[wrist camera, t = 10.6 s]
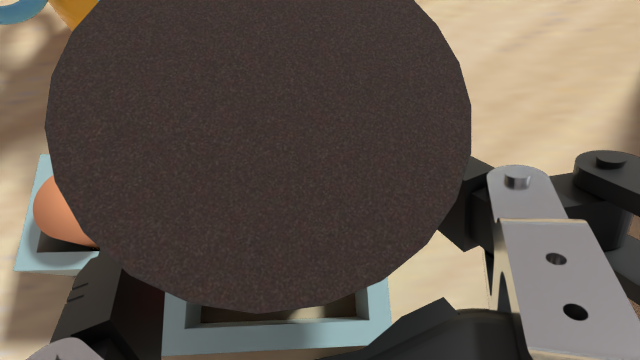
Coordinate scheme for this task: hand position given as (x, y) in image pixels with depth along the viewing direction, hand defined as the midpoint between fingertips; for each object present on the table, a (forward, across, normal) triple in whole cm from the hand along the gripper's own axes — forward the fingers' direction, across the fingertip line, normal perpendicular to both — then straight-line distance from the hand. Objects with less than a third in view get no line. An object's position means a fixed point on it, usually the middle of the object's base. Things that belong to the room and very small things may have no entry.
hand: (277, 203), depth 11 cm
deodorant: (+6, 0, +6) cm, 9 cm away
